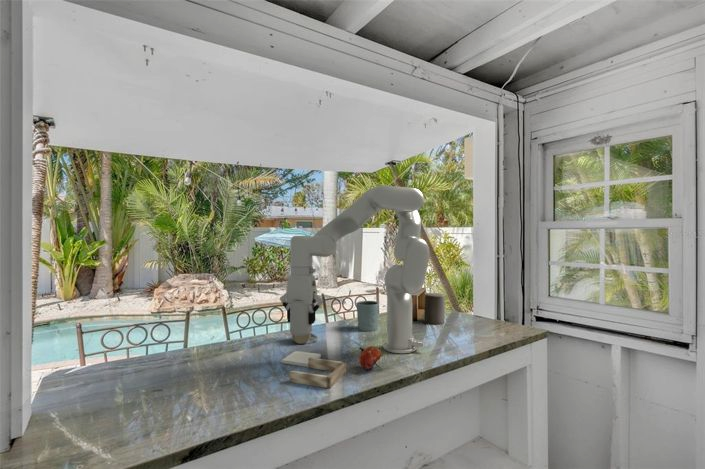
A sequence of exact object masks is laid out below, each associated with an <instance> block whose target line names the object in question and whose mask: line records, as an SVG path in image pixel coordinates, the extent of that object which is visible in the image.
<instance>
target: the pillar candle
mask: <svg viewBox="0 0 705 469" xmlns="http://www.w3.org/2000/svg"><path fill="white" fill-rule="evenodd" d="M445 302H446V295H445V294H444V293H440V292H436V291H434V292H426V293H425V294H424V308H423V309H424V316H423V317H424V318H423V320H424V323H426V324H428V325H434V326H435V325H443V324H445V314H446V310H445V309H446V308H445V307H446V306H445V305H446V303H445Z"/></svg>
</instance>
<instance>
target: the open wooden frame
mask: <svg viewBox="0 0 705 469" xmlns="http://www.w3.org/2000/svg"><path fill="white" fill-rule="evenodd" d="M347 365H348V364H347V362H346V361H339V360H332V359H323V358H319V359H318V358H308V367H307V368H310V369H316V370H324V371H330V372H331V373H330V374H329V375H323V374H317V373H311V372H305V371H297V370H290V371H289V382H290V383H295V384H302V385H307V386H313V387H319V388H326V389H327V388H328V389H331V388H332V387H333V386H334V385H335V384H336V383H337V382H338V381H339V380H340V379H341V378H342V377H343V376H344V375H345V374H346V373H347V370H348V369H347Z"/></svg>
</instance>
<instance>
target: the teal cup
mask: <svg viewBox="0 0 705 469" xmlns="http://www.w3.org/2000/svg"><path fill="white" fill-rule="evenodd" d="M356 317H357V326H358V327H357V328H358V330H359V331H362V332H374V331H375V332H376V331H377V330H378V322H379V320H378V319H379V302H378V301H376V300H360V301H356Z"/></svg>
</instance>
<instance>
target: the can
mask: <svg viewBox="0 0 705 469" xmlns="http://www.w3.org/2000/svg"><path fill="white" fill-rule="evenodd" d="M292 301H293V302H292V303H291V304H290V322H289V332H290V334H291V333H292V334H293V335H295V336H305V335H308V334H310V332H311V333H312V331H313V324H311V325H310V324H309V313H310V310H309V308H308V305H306V304H304V301H294V300H292Z"/></svg>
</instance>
